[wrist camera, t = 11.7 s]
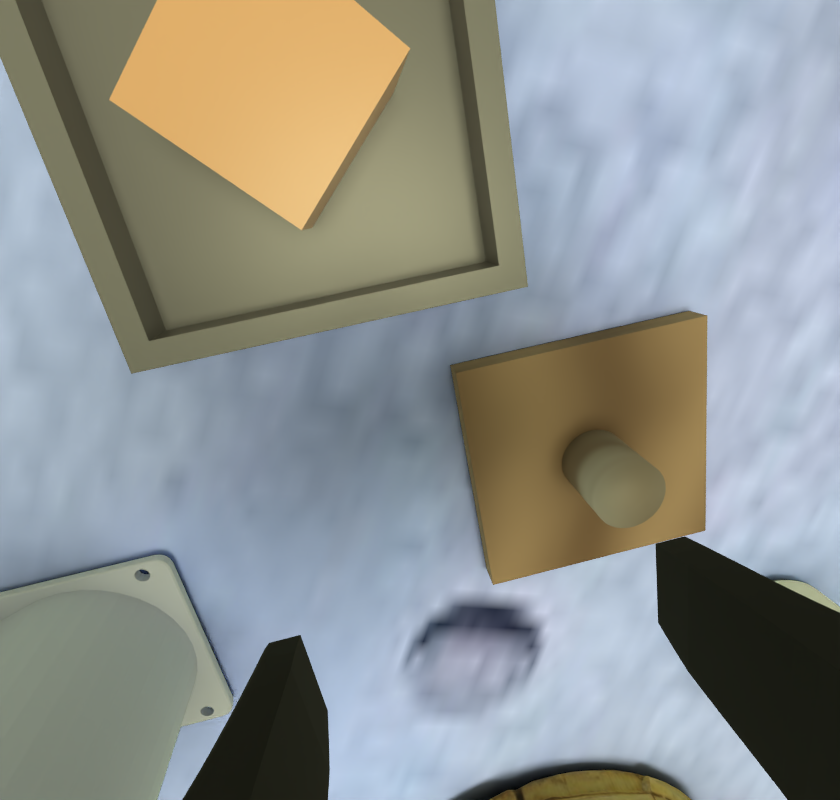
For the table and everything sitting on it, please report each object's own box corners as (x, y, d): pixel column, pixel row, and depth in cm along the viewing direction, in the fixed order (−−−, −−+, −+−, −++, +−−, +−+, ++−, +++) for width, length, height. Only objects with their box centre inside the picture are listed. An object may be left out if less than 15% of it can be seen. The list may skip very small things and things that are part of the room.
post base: (486, 568, 21) (514, 636, 18) (450, 365, 18) (474, 399, 15) (690, 517, 22) (754, 573, 18) (689, 310, 19) (767, 331, 15)
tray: (154, 357, 17) (131, 373, 15) (-30, -112, 12) (-93, -166, 11) (509, 279, 17) (527, 286, 16) (449, -187, 13) (465, -250, 11)
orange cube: (170, 131, 14) (108, 99, 11) (251, -25, 13) (214, -120, 10) (311, 227, 16) (302, 230, 12) (393, 92, 15) (410, 48, 11)
